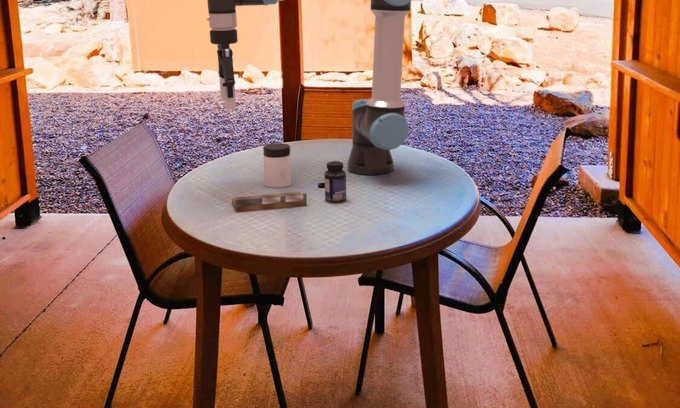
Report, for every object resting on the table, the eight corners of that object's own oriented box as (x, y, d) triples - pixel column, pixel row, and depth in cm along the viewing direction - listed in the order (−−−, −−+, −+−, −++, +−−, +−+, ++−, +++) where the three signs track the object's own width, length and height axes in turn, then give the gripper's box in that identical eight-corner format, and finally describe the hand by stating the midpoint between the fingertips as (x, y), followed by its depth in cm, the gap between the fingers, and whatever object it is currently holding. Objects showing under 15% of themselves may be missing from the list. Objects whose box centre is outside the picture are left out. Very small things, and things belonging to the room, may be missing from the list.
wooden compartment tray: (300, 196, 228) (300, 185, 227) (307, 205, 220) (306, 194, 219) (231, 202, 224) (231, 190, 223) (235, 212, 215) (235, 200, 214)
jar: (271, 189, 235) (270, 151, 231) (259, 183, 242) (257, 145, 238) (297, 184, 240) (296, 146, 236) (284, 178, 246) (282, 141, 243)
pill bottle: (349, 198, 226) (348, 161, 223) (342, 204, 221) (341, 166, 217) (329, 196, 228) (328, 159, 225) (321, 202, 223) (321, 165, 219)
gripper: (205, 25, 227) (211, 98, 234) (213, 33, 204) (219, 114, 211) (231, 24, 229) (236, 96, 235) (242, 32, 206) (247, 112, 212)
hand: (228, 104), depth 223 cm, fingers open, 13 cm apart
